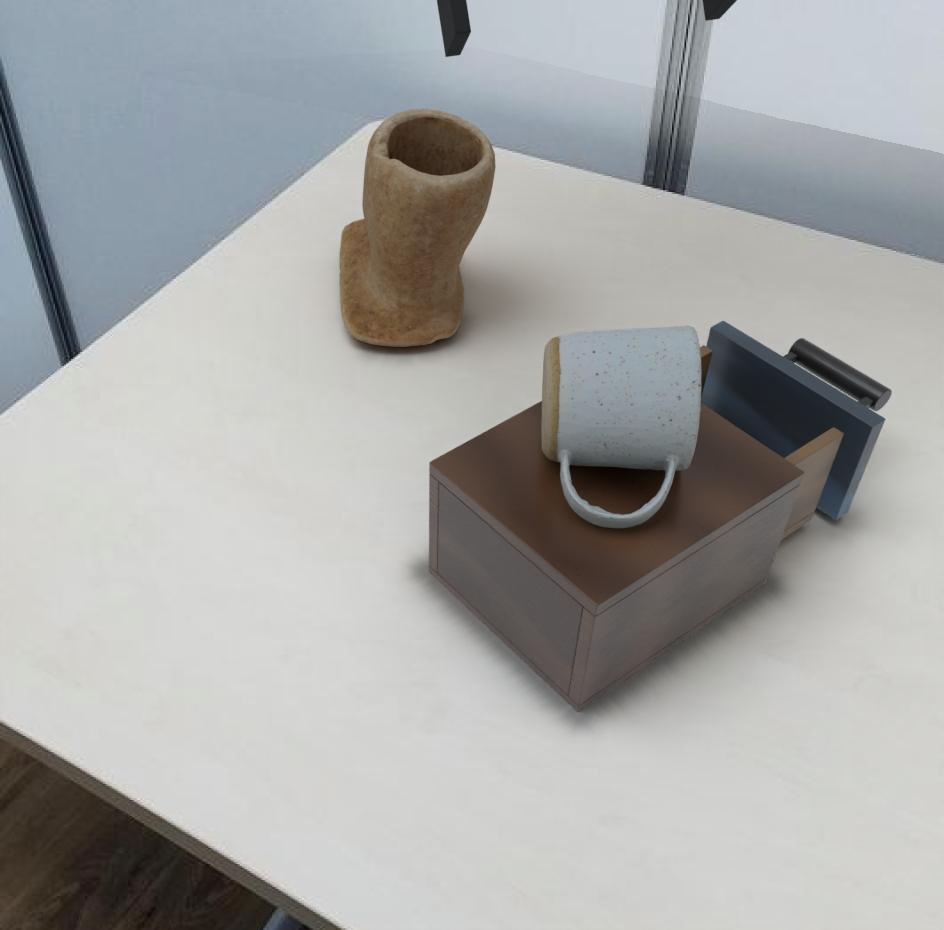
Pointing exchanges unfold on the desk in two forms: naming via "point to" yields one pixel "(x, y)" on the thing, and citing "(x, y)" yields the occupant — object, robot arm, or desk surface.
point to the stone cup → (414, 228)
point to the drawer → (797, 413)
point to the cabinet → (603, 547)
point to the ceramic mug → (621, 407)
